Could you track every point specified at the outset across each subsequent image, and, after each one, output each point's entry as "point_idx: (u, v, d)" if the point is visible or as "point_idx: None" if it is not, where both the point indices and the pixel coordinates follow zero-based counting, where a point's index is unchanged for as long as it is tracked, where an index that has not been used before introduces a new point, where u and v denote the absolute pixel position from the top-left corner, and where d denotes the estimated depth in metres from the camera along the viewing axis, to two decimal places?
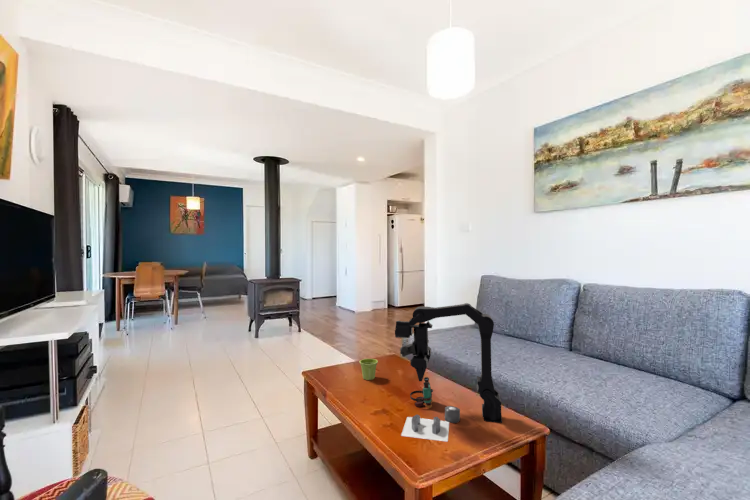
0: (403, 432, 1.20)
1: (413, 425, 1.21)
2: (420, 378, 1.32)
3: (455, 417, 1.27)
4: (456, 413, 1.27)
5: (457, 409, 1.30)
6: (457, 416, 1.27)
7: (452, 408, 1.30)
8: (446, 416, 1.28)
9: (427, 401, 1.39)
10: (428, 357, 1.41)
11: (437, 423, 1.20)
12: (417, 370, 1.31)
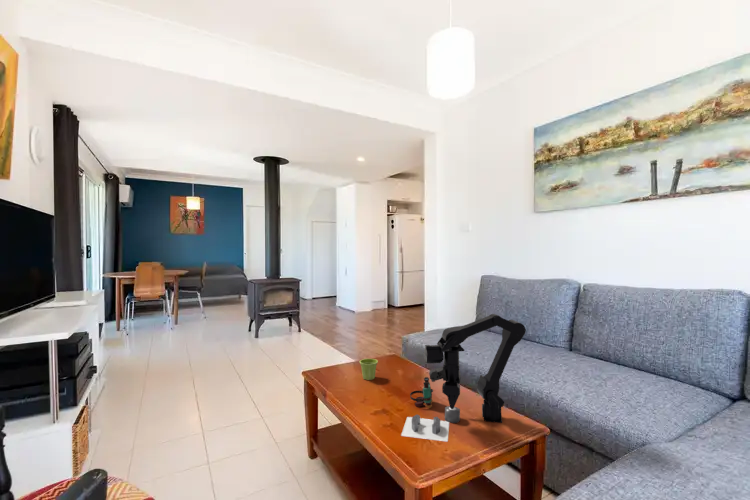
0: (403, 432, 1.20)
1: (413, 425, 1.21)
2: (452, 405, 1.24)
3: (455, 417, 1.27)
4: (456, 413, 1.27)
5: (457, 409, 1.30)
6: (457, 416, 1.27)
7: None
8: (446, 416, 1.28)
9: (427, 401, 1.39)
10: (458, 381, 1.34)
11: (437, 423, 1.20)
12: (449, 397, 1.24)
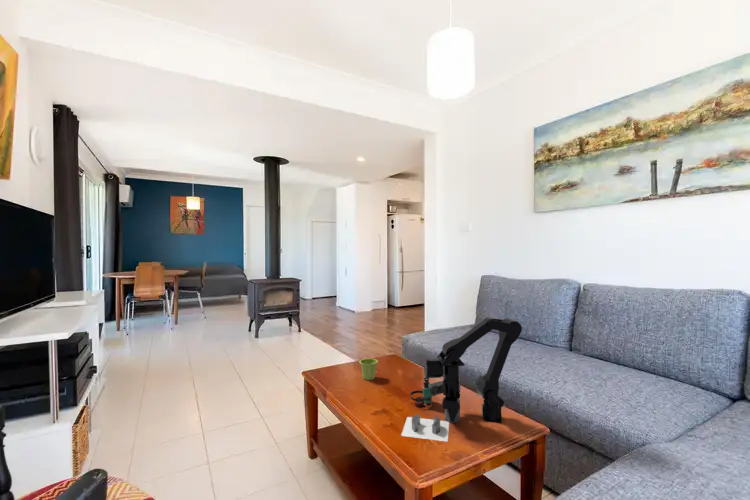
0: (403, 432, 1.20)
1: (413, 425, 1.21)
2: (452, 418, 1.26)
3: (455, 417, 1.27)
4: None
5: None
6: (457, 416, 1.27)
7: None
8: (446, 416, 1.28)
9: (427, 401, 1.39)
10: (458, 397, 1.32)
11: (437, 423, 1.20)
12: (449, 410, 1.25)
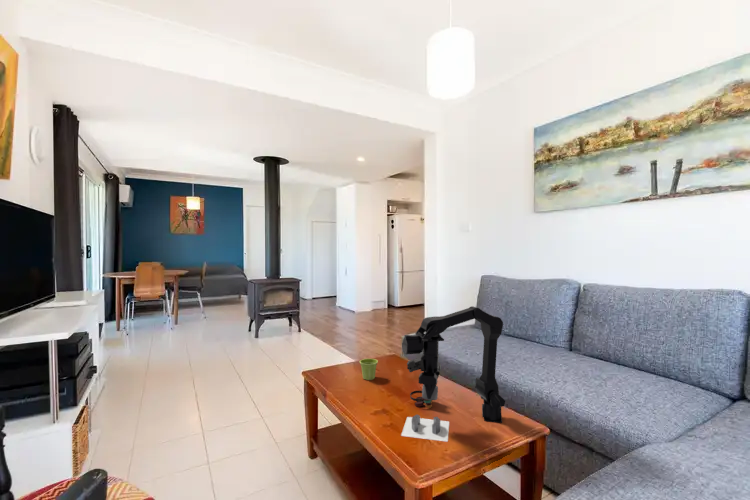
0: (403, 432, 1.20)
1: (413, 425, 1.21)
2: (429, 395, 1.21)
3: (432, 394, 1.22)
4: (434, 390, 1.22)
5: None
6: (434, 393, 1.22)
7: None
8: (423, 393, 1.23)
9: (427, 401, 1.39)
10: (437, 375, 1.27)
11: (437, 423, 1.20)
12: (426, 387, 1.20)
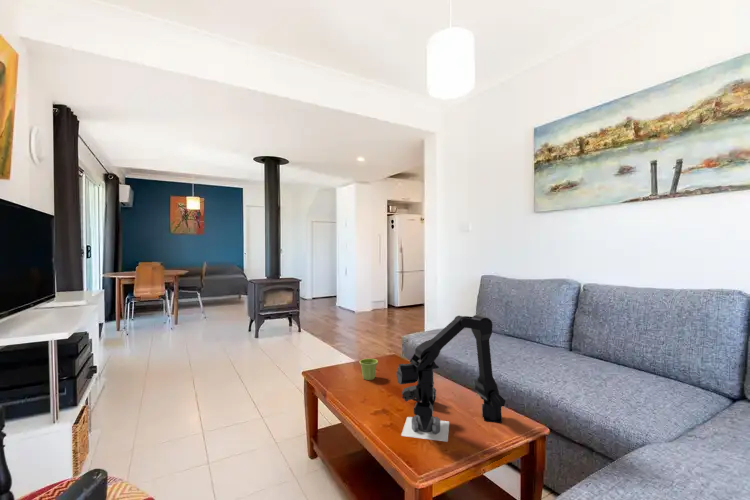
0: (403, 432, 1.20)
1: (413, 425, 1.21)
2: (424, 426, 1.18)
3: (428, 426, 1.20)
4: (429, 422, 1.20)
5: None
6: (430, 425, 1.21)
7: None
8: (419, 425, 1.22)
9: None
10: (433, 401, 1.27)
11: (437, 423, 1.20)
12: (421, 418, 1.18)
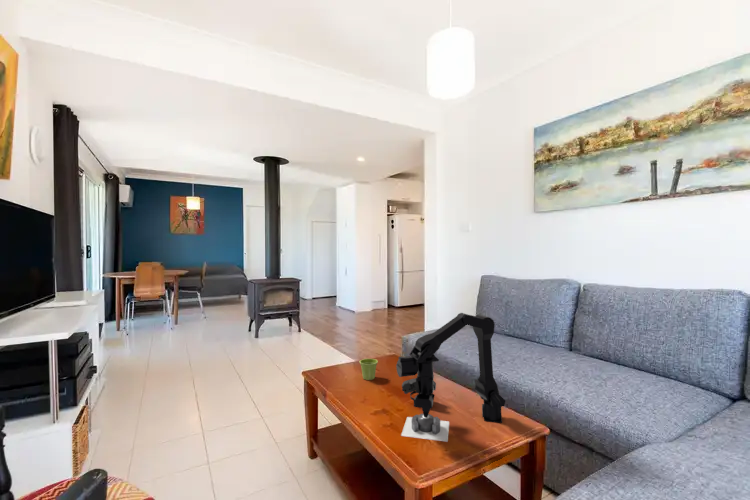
0: (403, 432, 1.20)
1: (413, 425, 1.21)
2: (425, 414, 1.22)
3: (429, 426, 1.20)
4: (429, 422, 1.20)
5: (431, 416, 1.23)
6: (431, 425, 1.21)
7: None
8: (419, 425, 1.22)
9: None
10: None
11: (437, 423, 1.20)
12: None
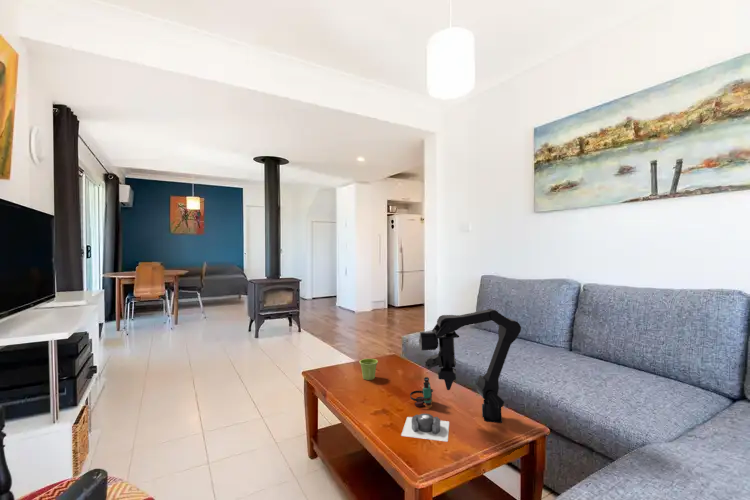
0: (403, 432, 1.20)
1: (413, 425, 1.21)
2: (448, 387, 1.29)
3: (428, 426, 1.20)
4: (429, 422, 1.20)
5: (431, 416, 1.23)
6: (431, 425, 1.21)
7: (425, 416, 1.23)
8: (419, 425, 1.22)
9: (427, 401, 1.39)
10: None
11: (437, 423, 1.20)
12: None
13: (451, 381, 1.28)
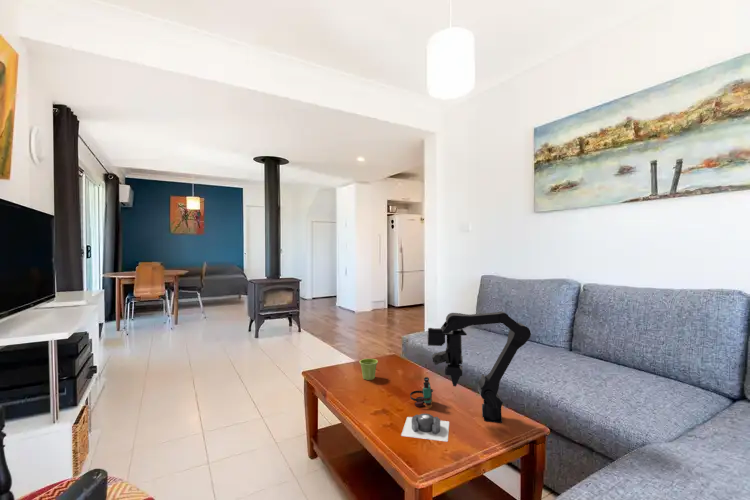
0: (403, 432, 1.20)
1: (413, 425, 1.21)
2: (454, 383, 1.31)
3: (428, 426, 1.20)
4: (429, 422, 1.20)
5: (431, 416, 1.23)
6: (431, 425, 1.21)
7: (425, 416, 1.23)
8: (419, 425, 1.22)
9: (427, 401, 1.39)
10: None
11: (437, 423, 1.20)
12: (452, 375, 1.31)
13: (457, 377, 1.30)
